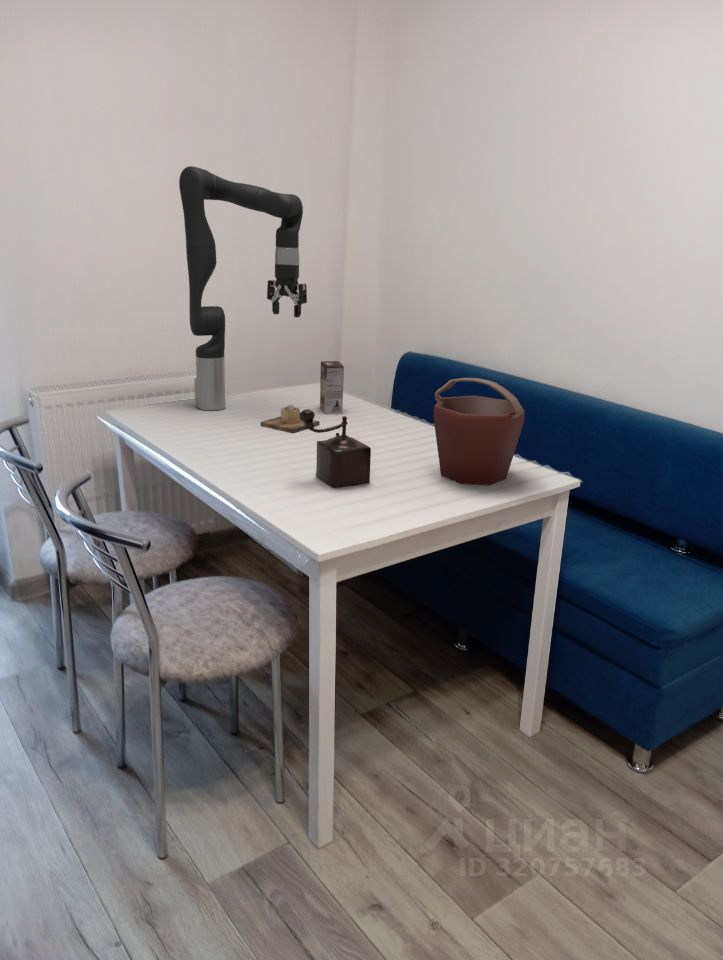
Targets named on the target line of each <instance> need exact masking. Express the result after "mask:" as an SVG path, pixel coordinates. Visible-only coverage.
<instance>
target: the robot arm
mask: <svg viewBox="0 0 723 960" xmlns="http://www.w3.org/2000/svg"><path fill="white" fill-rule="evenodd" d="M178 181H179V182H178V184H179V185H178V186H179V187H178V188H179V192H180V198H181V199H180V200H181V205H182V210H183V211H182V212H183V220H184V221H183V222H184V234H185V251H186V265H187V274H188V285H189V287H188V288H189V289H188V291H189V293H188V294H189V297H188V298H189V299H188V300H189V301H188V302H189V303H188V304H189V305H188V306H189V327H190V331H191V333H192V334H193V336H196V337H198V336H199V337H203V336H205V337H206V336H211V338H210V339H209V340H208V341H207V342H206V343H202V344H200V345H198V346H197V347H196V348H195V367H196V368H195V369H196V372H195V373H196V378H194V379H193V380H194V406H195V407H196V408H197V409H198V410H203V411H222V410H223V409H225V408H226V375H225V374H226V373H225V372H226V371H225V370H226V369H225V367H226V366H225V364H226V363H225V349H226V348H225V347H226V343H225V342H226V341H225V340H226V337H225V336H226V314H225V311H224V309H223V308H222V307H221V306H219V305H217V306H214V305H213V306H211V305H209V306H202V299H203V294H204V291H205V288H206V286H207V284H208V282H209V280H210V279H211V277H212V275H213V273H214V271H215V269H216V266H217V249H216V248H217V247H216V241H215V238H214V235H213V231H212V229H211V227H210V225H209V222H208V219H207V217H206V211H205V201H206V200H208V201H209V200H210V201H222V202H226V203H231V204H234V205H236V206H239V207H241V208H244V209H248V210H251V211H256V212H260V213H265V214H267V215H270V216H272V217H275V218H279V219H281V221H280V222H281V223H280V226H279V227H278V228H276V231H275V251H274V278H275V279H270V280H268V281H267V289H266V299H267V300H269V301H271V305H272V306H271V310H272V311H271V312H272V314H273V315H279V314H280V301H281V299H282V297H283V296H285V297H286V298H287V297H289V298H290V300H292V302H293V304H294V305H293V317H294V318H300V317H301V315H302V305H304V304H307V303H308V296H307V295H308V292H307V283H299V282H298V281H299V278H300V249H299V245H300V243H299V242H300V241H299V239H300V236H299V234H300V229H301V225H302V219H303V215H304V214H303V213H304V207H303V206H304V205H303V202H302V200H301V198H300V197H299V196H298V195H296V194H293V193H290V194H289V193H282V192H275V191H271V190H270V189H268V188H265V187H262V186H258V185H253V184H250V183H243V182H235V181H231V180H228V179H225V178H223V177H221V176H218V175H216V174H215V173H212V172H210V171H209V170H208V169H204V168H201V167H197V166H191V165H188V166H186V167H185V168H183V169H182V171H181V173H180V175H179V180H178ZM195 407H194V408H195Z"/></svg>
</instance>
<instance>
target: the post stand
mask: <svg viewBox="0 0 723 960" xmlns="http://www.w3.org/2000/svg"><path fill="white" fill-rule="evenodd" d="M286 407H287V410H294V407H295V406H294V405H292V404H288V405H286ZM313 423H314V425H315V427H318V426H320V421H319V420H316V419H315V420H314V419H313ZM260 426H261V427H265V428H269V429H274V430H278V431H282V432H286V433H291V434H296V433H297V432H301V431H304V430H306V429H304V423H303V422H302V421H301V420H300V422H299V423H296V424H286V423H282V422H281V415H280V416H277V417H274V418H270V419H267V420H266V419H265V420H263V421H260Z"/></svg>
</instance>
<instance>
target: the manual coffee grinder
mask: <svg viewBox="0 0 723 960" xmlns="http://www.w3.org/2000/svg"><path fill="white" fill-rule="evenodd" d="M299 417H300V420H301V421H302V422H303V423H304V429H305V430H309V431H310V432H313V433H319V434H321V433H327V432H331V431H335V430H338V429H340V428H342V430H341V431H342V432H341V434H340V433H339V432H336V433H335V436H334V437H330V438H328V439H325V440H318V441H316V471H315V477H317V479H319V480H320V481H322V482H323V483H324V484H325V485H327V486H329V487H331V488H333V489H339V488H340V489H341V488H347V487H353V486H360V485H364V484H369V483H370V481H371V480H370V479H371V461H372V460H371V457H372V455H371V454H372V449H371V447H370V446H368V445H367V444H365V443H363V442H362V441H360V440H359V439H356V438H354V437H352V436H349V435H347V434H346V433H347V425H348V421H347V420H348V417H347V416H346V415H343V416H342V417H341V423H340V424H337V425H334V426H330V427H326V428H321V429H319V428H315V427H316V426H315V425H314V423H313V420H314V419H315V417H316V415H315V412H314V411H313V410H312V409H310V408H309V409H303V410H302V411H300V414H299Z"/></svg>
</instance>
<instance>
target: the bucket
mask: <svg viewBox="0 0 723 960" xmlns="http://www.w3.org/2000/svg"><path fill="white" fill-rule="evenodd" d="M459 382H461V383H463V382H472V383H478V384H482V385H485V386H488V387H490V388H492V389H493V390H495V391H496V392H497V393H498V394H500V395H501V396H502V397H504V398H505V399H501V398H500V399H499V398H495V397H494V398H493V397H486V396H480V395H463V396H449V397H447V396H446V397H441V395H440V394H441V393H444V392H446V391H448V390H450V389H451V388H452V387H453V386H454V385H456V384H457V383H459ZM434 399H435V400H436V402H437V403H436V404H435V405H434V406H433V423H434V424H433V425H434V431H435V432H434V433H435V440H436V446H437V455H438V462H439V471H440V477H443V478H445V479H447V480H449V481H453V482H455V483H457V484H460V485H469V486H470V485H473V486H474V485H475V486H492V485H495V484H497V482H498V483H500V482H502V481H504V480H506V479H507V478H508V474H509V471H510V469H511V468H510V467H511V465H512V461H513V459H514V455H515V452H516V449H517V445H518V442H519V439H520V435H521V433H522V429H523V426H524V424H525V423H524V422H525V415H526V409H524V408H523V406H522V405H521V403H520V402H519V400H518V398H517V397H516V396H515V395H514V394H513V393H512V392H510V391H509V390H507V389H506V388H505V387H504V386H502V385H500V384H499V383H497V382H495V381H492V380H488V379H483V378H477V377H461V378H453V379H449V380H448V381H447V382H446V383H445V384H444V385H443V386H441V387H440V388H438V389H437V390H436V391H435V392H434ZM499 481H500V482H499Z"/></svg>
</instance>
